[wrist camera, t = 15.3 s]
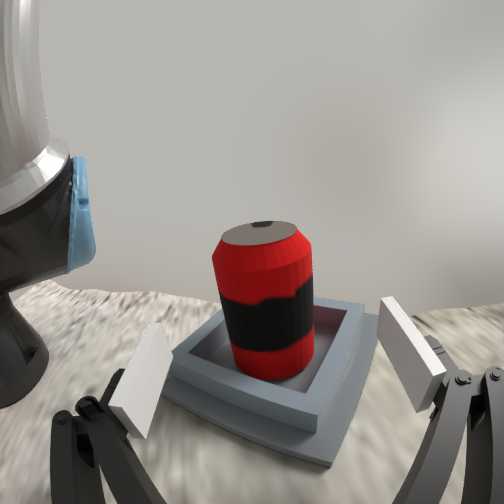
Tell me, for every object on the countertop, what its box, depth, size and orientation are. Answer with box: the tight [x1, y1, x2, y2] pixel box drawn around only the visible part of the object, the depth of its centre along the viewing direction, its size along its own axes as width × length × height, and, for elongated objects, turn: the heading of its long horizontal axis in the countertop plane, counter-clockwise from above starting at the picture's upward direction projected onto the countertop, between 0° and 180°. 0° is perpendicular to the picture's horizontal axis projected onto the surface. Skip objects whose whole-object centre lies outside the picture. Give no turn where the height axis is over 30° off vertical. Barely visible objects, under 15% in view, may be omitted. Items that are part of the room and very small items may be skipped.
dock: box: [161, 297, 379, 467], centre depth 25 cm, size 18×18×4 cm
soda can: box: [212, 221, 314, 380], centre depth 23 cm, size 8×8×12 cm
